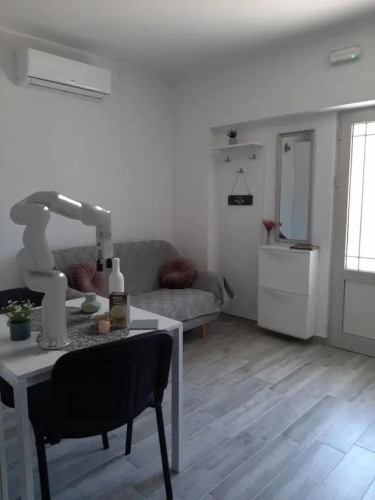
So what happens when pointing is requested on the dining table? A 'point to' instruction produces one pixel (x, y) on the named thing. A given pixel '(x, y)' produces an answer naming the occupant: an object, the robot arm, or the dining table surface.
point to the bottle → (116, 278)
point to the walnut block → (99, 319)
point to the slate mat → (144, 324)
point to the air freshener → (90, 303)
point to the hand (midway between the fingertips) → (104, 269)
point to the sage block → (107, 313)
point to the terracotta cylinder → (104, 326)
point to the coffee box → (119, 309)
